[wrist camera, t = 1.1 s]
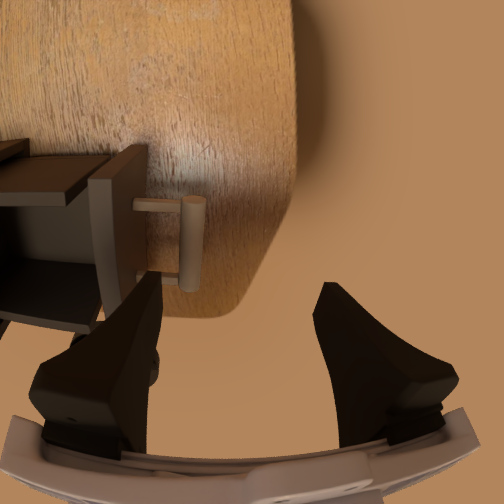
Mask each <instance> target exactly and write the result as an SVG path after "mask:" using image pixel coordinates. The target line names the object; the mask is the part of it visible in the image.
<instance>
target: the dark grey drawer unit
mask: <svg viewBox="0 0 504 504" xmlns="http://www.w3.org/2000/svg"><path fill="white" fill-rule="evenodd" d="M17 158H30V155H29V138H24V139H15V140H7V141H0V162H1V161H3V160H6V159H17ZM10 322H11V321H10V320H5V319H1V318H0V340H1V337H2V336H3V334H4V332H5V331H6V329H7V327H8V325H9V323H10Z"/></svg>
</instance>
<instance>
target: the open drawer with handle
mask: <svg viewBox="0 0 504 504" xmlns="http://www.w3.org/2000/svg"><path fill="white" fill-rule="evenodd" d="M147 148H148V146H147V145H135V144H131V145H130V146H128V147H127V148H126V149H124V150H123V151H122V152H120V153H119V154H118V155H116V156H115V157H114V158H113V159H111V155H76V156H48V157H31V158H17V159H6V160H3V161H1V162H0V318H1V319H5V320H10V321H14V322H19V323H24V324H29V325H34V326H39V327H45V328H51V329H57V330H63V331H70V332H76V333H83V334H90V333H91V332H92V331H93V328H94V325H95V322H96V319H97V317H98V314H99V311H100V309H101V306H102V304H103V309H104V313H105V319H107V318H108V317H109V316H110V315H111V314H112V313H113V312H114V310H115V309H116V308H117V307H118V306H119V305H120V304H121V303H122V302H123V301H124V299H125V298H126V297H127V296H128V295H129V293H130V292H131V291H132V290H133V288H134V287H135V286H136V285H137V283H138V282H139V281H140V279H141V278H142V276H143V275H144V274H145V272H147V250H146V211H153V212H170V213H180V212H181V220H180V245H179V274H178V273H165V272H161V274H162V284H163V285H178V284H179V288H180V289H181V290H182V291H184V292H189V293H191V292H195V291H197V290H198V289H199V288H200V278H201V263H202V249H203V236H204V224H205V212H206V202H207V201H206V199H205V198H204V197H201V196H197V195H189V196H185V197H183V198H182V201H181V200H170V199H152V198H146V170H147Z"/></svg>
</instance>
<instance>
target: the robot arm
mask: <svg viewBox="0 0 504 504" xmlns="http://www.w3.org/2000/svg"><path fill="white" fill-rule="evenodd" d="M162 312H163V298H162V274H161V272H157V271H147V272H145V274H144V275H143V276H142V278H141V279H140V281H139V282H138V283H137V285H136V286H135V287H134V288H133V290H132V291H131V292H130V293H129V295H128V296H127V297H126V298H125V299H124V301H123V302H122V303H121V304H120V305H119V306H118V307H117V308H116V309H115V310H114V312H113V313H112V314H111V315H110V316H109V317H108V318H107V319H106V320H105V321H104V322H103V323H101V324H100V325H99V326H98V327H97V328H96V329H95V330H93V331H92V332H91V333H90V334H88V335H87V336H86V337H85V338H83V339H82V340H81V341H79V342H78V343H76V344H75V345H73V346H72V347H70V348H69V349H67V350H66V351H64V352H62V353H61V354H59V355H57V356H55V357H53V358H51V359H49V360H47V361H45V362H43V363H41V364H40V366H39V368H38V370H37V372H36V374H35V377H34V380H33V382H32V385H31V388H30V391H29V399H30V400H31V402H32V404H33V405H34V407H35V408H36V409H37V410H38V411H39V413H40V414H41V415H42V416H43V417H44V419H45V423H44V427H43V426H41V425H40V424H38V423H36V422H34V421H31V420H28V419H25V418H22V417H19V416H16V415H13V416H12V419H11V422H10V426H9V429H8V432H7V436H6V440H5V444H4V448H3V452H2V456H1V460H0V470H1V471H3V472H4V473H6V474H7V475H9V476H11V477H12V478H14V479H16V480H17V481H19V482H21V483H22V484H24V485H26V486H28V487H30V488H32V489H34V490H37V491H39V492H42V493H45V494H47V495H50V496H53V497H56V498H59V499H61V500H64V501H68V502H69V504H384V502H383V498H382V497H384V496H387V495H390V494H392V493H395V492H397V491H400V490H402V489H405V488H407V487H410V486H412V485H414V484H417V483H419V482H421V481H423V480H425V479H427V478H430V477H432V476H434V475H436V474H438V473H440V472H442V471H444V470H446V469H448V468H450V467H452V466H453V465H455V464H456V463H458V462H459V461H461V460H462V459H464V458H465V457H467V456H468V455H470V454H471V453H473V452H474V451H476V450H477V449H478V448H480V443H479V441H478V439H477V436H476V434H475V432H474V429H473V427H472V425H471V423H470V421H469V419H468V417H467V415H466V413H465V411H464V409H463V407H461V408H458V409H456V410H453V411H451V412H448V413H446V414H445V415H443V416H442V414H441V412H440V411H441V410H442V409H443V406H442V403H441V402H442V401H443V400H444V399H445V398H446V397H447V396H448V395H449V394H450V393H451V392H452V391H453V389H454V388H455V387H456V386H457V384H458V381H459V377H458V375H457V373H456V372H455V370H454V368H453V366H452V365H451V364H449V363H447V362H444V361H441V360H439V359H437V358H435V357H432V356H430V355H428V354H426V353H424V352H422V351H421V350H419V349H417V348H415V347H413V346H412V345H410V344H409V343H407V342H405V341H404V340H402V339H401V338H399V337H398V336H397V335H395V334H394V333H392V332H391V331H390V330H388V329H387V328H386V327H385V326H383V325H382V324H381V323H380V322H379V321H377V320H376V319H375V318H374V317H373V316H372V315H371V314H370V313H368V312H367V311H366V310H365V309H364V308H363V307H362V306H361V305H360V304H359V303H358V302H357V301H356V300H355V299H354V298H353V297H352V296H351V295H349V294H348V292H346V291H345V290H344V289H343V288H342V287H341V286H340V285H339V284H338V283H335V282H324V285H323V287H322V290H321V293H320V296H319V298H318V301H317V304H316V306H315V309H314V312H313V314H312V315H313V321H314V326H315V331H316V335H317V338H318V341H319V344H320V347H321V350H322V353H323V356H324V359H325V362H326V365H327V368H328V371H329V374H330V378H331V383H332V388H333V393H334V399H335V405H336V412H337V421H338V430H339V449H334V450H328V451H321V452H315V453H307V454H299V455H291V456H280V457H267V458H247V459H202V458H182V457H169V456H159V455H150V454H146V434H147V408H148V406H147V405H148V393H149V381H150V374H151V368H152V363H153V359H154V354H155V350H156V345H157V341H158V337H159V332H160V328H161V320H162Z"/></svg>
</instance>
